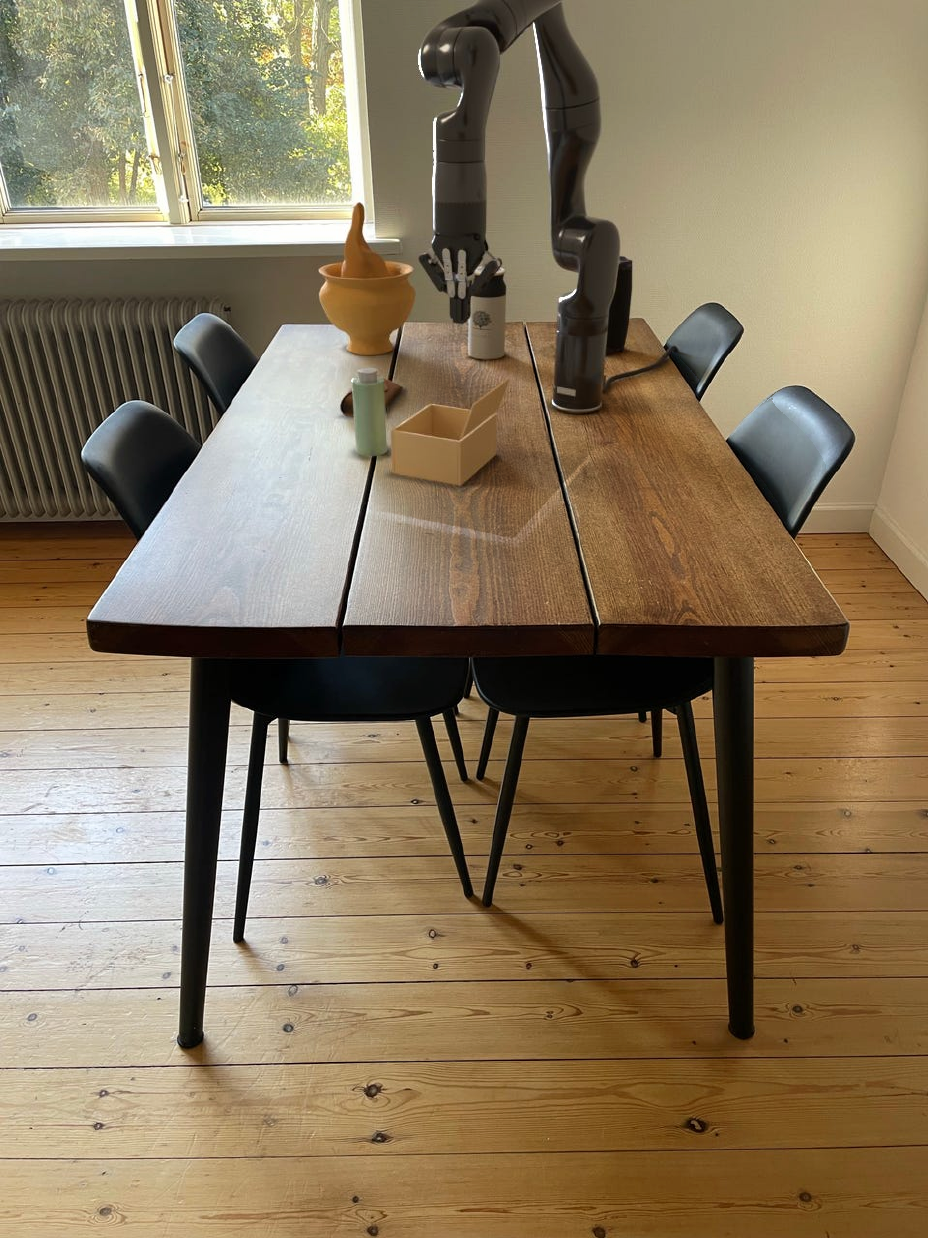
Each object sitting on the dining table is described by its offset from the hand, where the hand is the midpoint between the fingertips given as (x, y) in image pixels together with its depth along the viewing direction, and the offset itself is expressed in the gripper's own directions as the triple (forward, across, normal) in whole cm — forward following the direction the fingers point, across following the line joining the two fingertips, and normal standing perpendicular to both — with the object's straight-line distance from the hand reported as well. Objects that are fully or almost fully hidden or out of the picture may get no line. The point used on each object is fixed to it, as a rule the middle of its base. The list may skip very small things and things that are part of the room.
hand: (460, 322), depth 138 cm
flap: (+12, -5, +1) cm, 13 cm away
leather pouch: (+23, +29, -21) cm, 43 cm away
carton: (+23, +2, +1) cm, 23 cm away
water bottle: (+23, +16, +2) cm, 28 cm away
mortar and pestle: (+23, +48, -53) cm, 75 cm away
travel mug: (+23, +22, -59) cm, 68 cm away
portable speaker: (+23, 0, -75) cm, 78 cm away
